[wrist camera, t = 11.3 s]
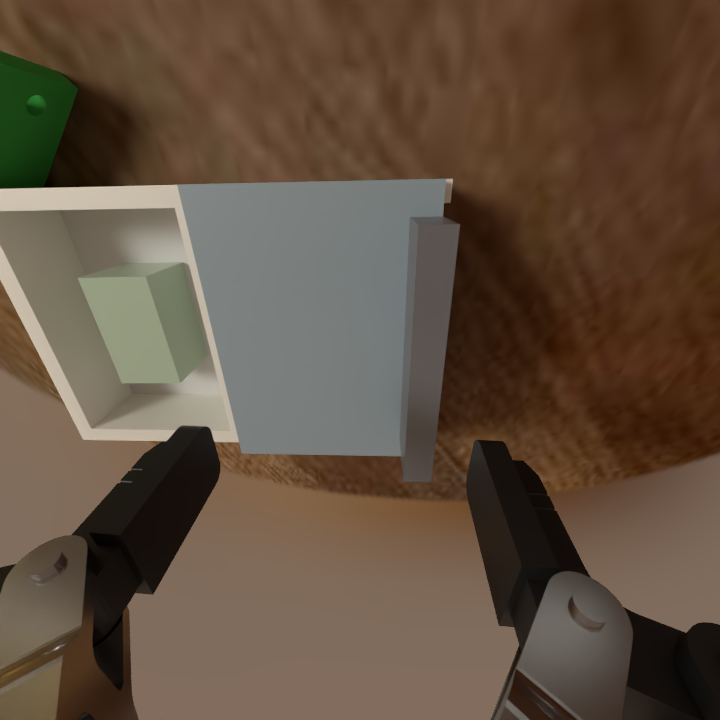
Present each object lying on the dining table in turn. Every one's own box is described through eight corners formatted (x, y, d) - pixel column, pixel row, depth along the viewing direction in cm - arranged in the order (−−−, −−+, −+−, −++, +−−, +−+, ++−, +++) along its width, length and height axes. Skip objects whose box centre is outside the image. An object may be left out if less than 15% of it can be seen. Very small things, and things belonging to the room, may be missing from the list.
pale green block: (182, 262, 22) (145, 276, 19) (207, 355, 25) (180, 383, 22) (124, 263, 22) (77, 278, 19) (157, 356, 26) (122, 383, 22)
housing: (435, 180, 20) (453, 179, 15) (418, 402, 27) (427, 445, 23) (42, 188, 21) (-47, 189, 17) (129, 400, 28) (83, 439, 24)
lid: (443, 179, 15) (465, 177, 11) (420, 447, 23) (429, 501, 19) (186, 184, 16) (125, 184, 12) (245, 445, 23) (220, 496, 19)
